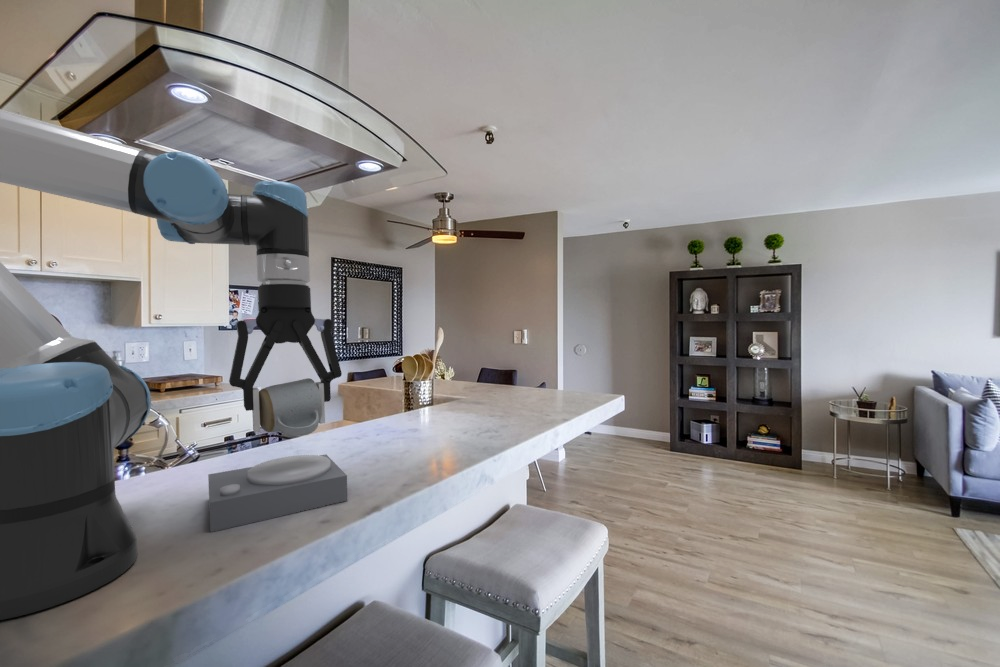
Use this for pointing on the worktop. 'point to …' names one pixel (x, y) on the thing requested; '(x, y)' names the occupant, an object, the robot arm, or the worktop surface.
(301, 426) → the ceramic mug
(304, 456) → the grey oval-top base
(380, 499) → the worktop surface
